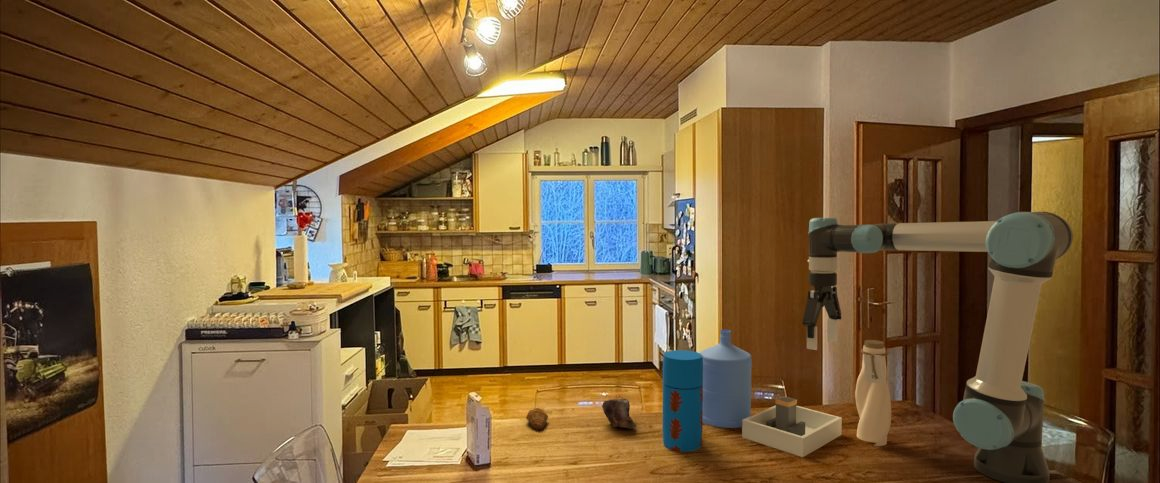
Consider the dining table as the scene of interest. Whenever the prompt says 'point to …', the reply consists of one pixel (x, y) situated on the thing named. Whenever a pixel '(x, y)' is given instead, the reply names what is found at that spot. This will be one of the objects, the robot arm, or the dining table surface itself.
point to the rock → (618, 413)
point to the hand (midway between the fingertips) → (822, 345)
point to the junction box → (816, 433)
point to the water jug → (726, 384)
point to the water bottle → (873, 395)
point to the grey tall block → (785, 413)
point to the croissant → (537, 418)
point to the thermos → (682, 400)
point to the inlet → (795, 429)
